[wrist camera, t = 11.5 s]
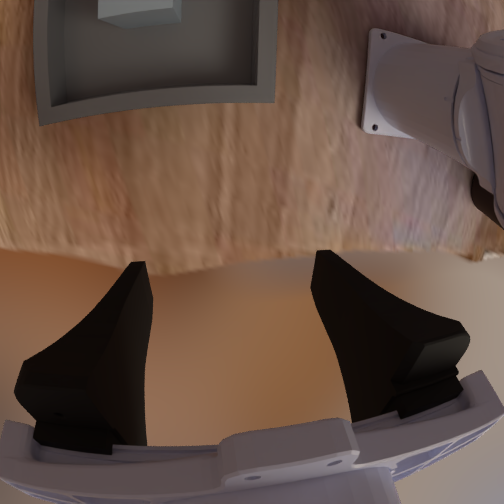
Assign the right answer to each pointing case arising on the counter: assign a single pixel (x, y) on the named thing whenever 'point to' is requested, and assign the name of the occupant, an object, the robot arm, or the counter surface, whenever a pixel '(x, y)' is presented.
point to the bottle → (484, 200)
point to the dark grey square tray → (152, 58)
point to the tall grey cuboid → (139, 12)
